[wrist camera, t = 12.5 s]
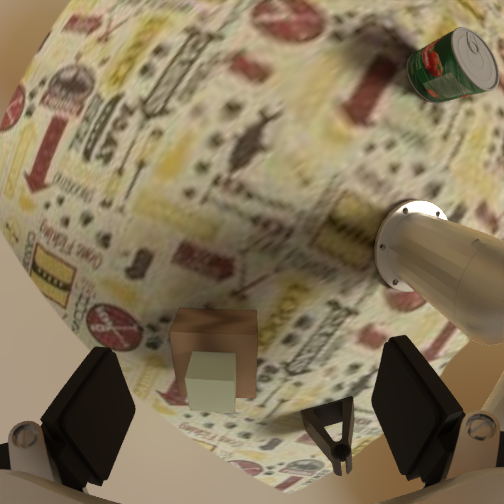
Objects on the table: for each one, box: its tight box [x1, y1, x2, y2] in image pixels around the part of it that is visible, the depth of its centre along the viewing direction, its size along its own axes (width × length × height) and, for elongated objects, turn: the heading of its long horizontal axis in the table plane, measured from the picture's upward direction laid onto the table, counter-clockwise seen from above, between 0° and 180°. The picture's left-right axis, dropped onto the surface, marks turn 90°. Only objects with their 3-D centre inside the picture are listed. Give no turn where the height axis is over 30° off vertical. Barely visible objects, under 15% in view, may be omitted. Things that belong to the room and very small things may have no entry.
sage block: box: [185, 351, 236, 413], centre depth 30 cm, size 5×5×5 cm
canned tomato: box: [406, 27, 499, 103], centre depth 23 cm, size 8×8×11 cm
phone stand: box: [301, 396, 354, 476], centre depth 37 cm, size 9×6×12 cm, turn 105°
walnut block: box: [169, 308, 258, 398], centre depth 35 cm, size 10×10×6 cm
